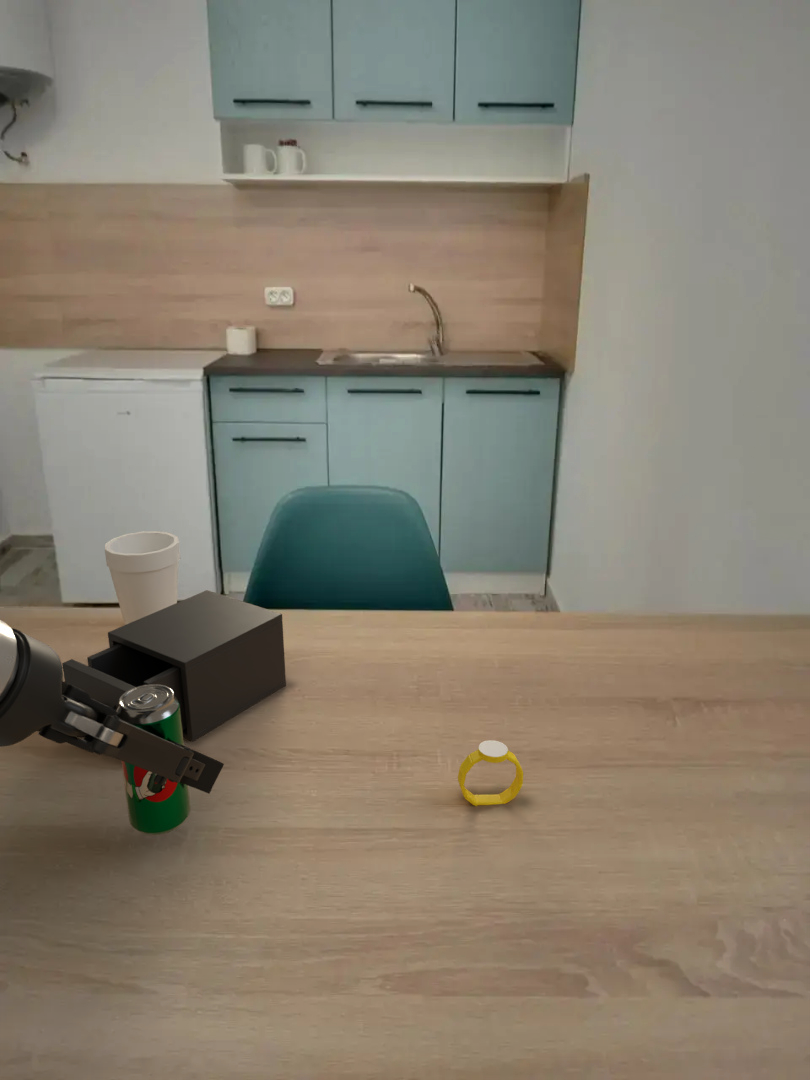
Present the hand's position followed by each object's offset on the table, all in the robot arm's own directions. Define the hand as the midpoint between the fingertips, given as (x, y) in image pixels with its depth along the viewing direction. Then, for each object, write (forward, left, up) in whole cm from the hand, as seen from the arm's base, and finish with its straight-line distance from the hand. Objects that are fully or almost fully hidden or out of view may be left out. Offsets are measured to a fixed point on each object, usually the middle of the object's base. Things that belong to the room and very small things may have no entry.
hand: (190, 765), depth 73 cm
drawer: (-17, +9, -6) cm, 20 cm away
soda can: (0, -4, -4) cm, 5 cm away
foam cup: (-36, +24, -7) cm, 44 cm away
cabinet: (-17, +16, -7) cm, 24 cm away
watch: (+20, +18, -7) cm, 28 cm away
